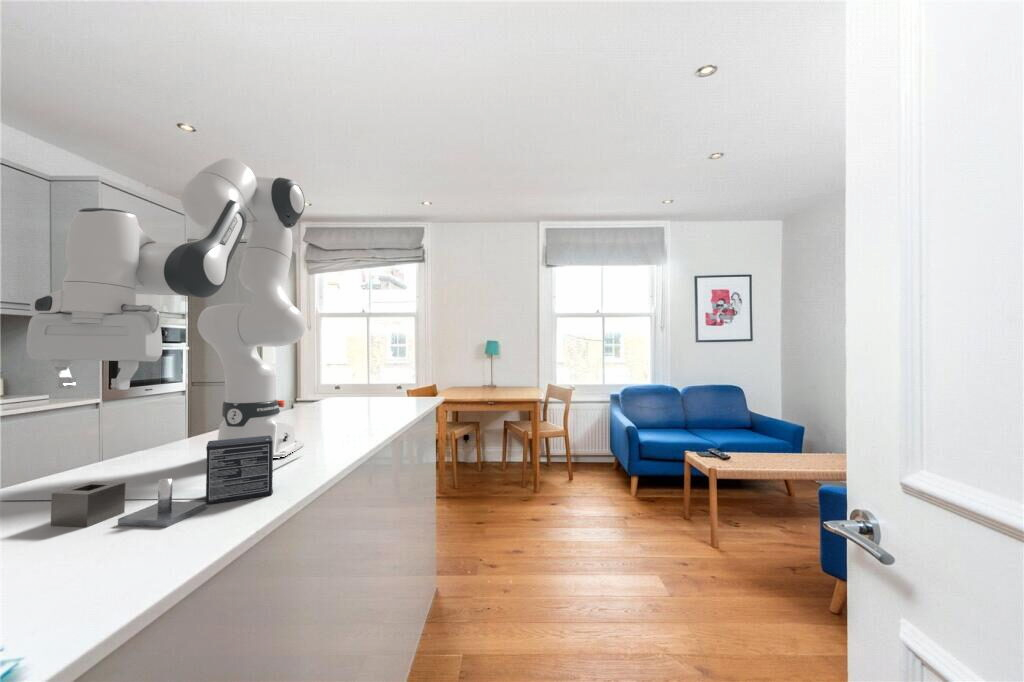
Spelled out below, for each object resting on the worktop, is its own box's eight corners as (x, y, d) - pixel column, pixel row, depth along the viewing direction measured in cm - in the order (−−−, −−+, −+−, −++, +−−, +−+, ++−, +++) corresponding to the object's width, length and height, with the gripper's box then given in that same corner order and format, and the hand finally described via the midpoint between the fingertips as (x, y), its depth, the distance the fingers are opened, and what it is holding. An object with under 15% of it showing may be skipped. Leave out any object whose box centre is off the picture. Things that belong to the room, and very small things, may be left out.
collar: (90, 511, 73) (91, 481, 73) (124, 512, 72) (125, 482, 72) (50, 525, 67) (51, 493, 67) (86, 527, 66) (87, 494, 66)
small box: (270, 486, 87) (272, 433, 87) (273, 495, 81) (274, 439, 82) (206, 495, 81) (208, 439, 81) (204, 505, 76) (206, 446, 76)
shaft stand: (162, 506, 75) (163, 472, 75) (206, 508, 74) (207, 473, 75) (117, 525, 67) (118, 486, 67) (166, 527, 66) (167, 488, 67)
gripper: (175, 307, 73) (170, 389, 72) (63, 307, 75) (56, 387, 74) (142, 301, 67) (135, 391, 66) (20, 301, 68) (11, 388, 67)
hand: (92, 389), depth 70 cm, fingers open, 8 cm apart
